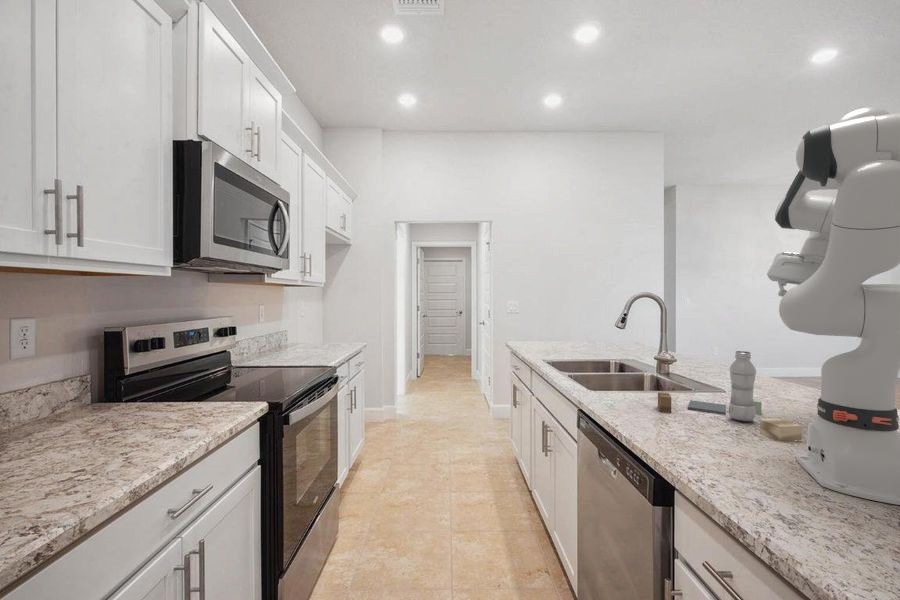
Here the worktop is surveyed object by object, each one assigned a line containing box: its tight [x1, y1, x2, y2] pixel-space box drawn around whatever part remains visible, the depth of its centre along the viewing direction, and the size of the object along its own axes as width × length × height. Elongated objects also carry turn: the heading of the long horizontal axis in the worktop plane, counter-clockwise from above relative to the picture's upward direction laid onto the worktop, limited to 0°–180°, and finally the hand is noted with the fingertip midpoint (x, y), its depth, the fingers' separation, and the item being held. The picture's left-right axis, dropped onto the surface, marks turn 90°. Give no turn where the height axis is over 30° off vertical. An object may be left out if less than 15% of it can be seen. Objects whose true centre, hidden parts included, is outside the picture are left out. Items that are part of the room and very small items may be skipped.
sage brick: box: [753, 398, 763, 416], centre depth 129 cm, size 4×4×4 cm
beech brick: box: [759, 418, 803, 442], centre depth 107 cm, size 6×6×4 cm
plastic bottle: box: [728, 350, 757, 422], centre depth 121 cm, size 6×7×20 cm
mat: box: [687, 400, 727, 416], centre depth 133 cm, size 10×10×1 cm
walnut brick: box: [657, 391, 672, 414], centre depth 131 cm, size 6×3×5 cm, turn 161°
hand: (801, 299), depth 119 cm, fingers open, 8 cm apart
